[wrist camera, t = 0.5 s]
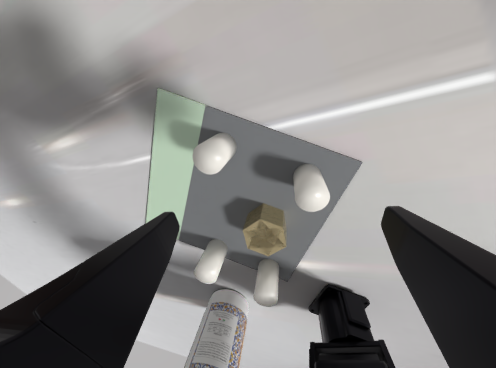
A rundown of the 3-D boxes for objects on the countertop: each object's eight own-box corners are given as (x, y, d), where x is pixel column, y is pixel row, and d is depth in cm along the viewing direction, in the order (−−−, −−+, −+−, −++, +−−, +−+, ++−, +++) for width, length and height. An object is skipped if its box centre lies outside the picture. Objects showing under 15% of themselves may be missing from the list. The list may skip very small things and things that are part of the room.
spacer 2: (224, 257, 29) (213, 286, 25) (206, 250, 30) (192, 278, 25) (230, 243, 28) (219, 272, 24) (210, 236, 28) (196, 263, 24)
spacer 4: (313, 192, 23) (320, 216, 18) (289, 183, 23) (289, 205, 18) (325, 169, 21) (336, 189, 17) (299, 159, 21) (303, 177, 17)
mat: (287, 279, 30) (287, 281, 29) (146, 225, 30) (145, 227, 30) (361, 161, 21) (362, 162, 20) (159, 88, 21) (157, 88, 21)
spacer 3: (274, 276, 29) (272, 309, 25) (255, 269, 29) (250, 301, 25) (282, 263, 28) (281, 295, 23) (262, 256, 28) (258, 286, 24)
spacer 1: (232, 162, 23) (219, 179, 18) (208, 153, 23) (189, 168, 18) (239, 138, 21) (227, 149, 17) (214, 128, 22) (195, 137, 17)
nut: (279, 240, 26) (278, 260, 23) (242, 226, 26) (237, 244, 23) (293, 214, 24) (294, 232, 21) (253, 199, 24) (248, 214, 21)
